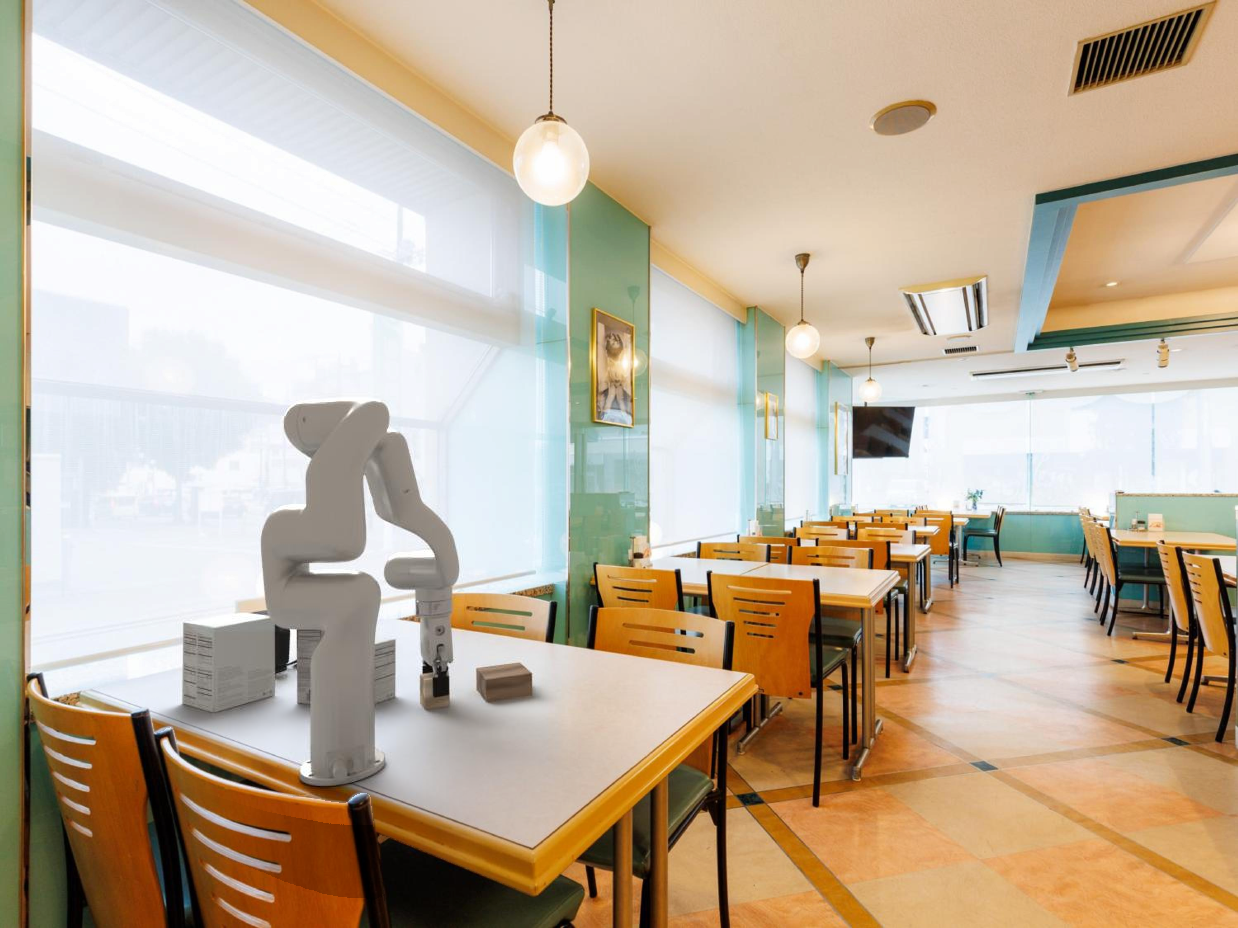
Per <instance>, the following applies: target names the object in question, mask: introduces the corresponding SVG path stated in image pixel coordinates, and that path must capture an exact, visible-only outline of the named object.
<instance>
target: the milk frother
mask: <svg viewBox="0 0 1238 928" xmlns="http://www.w3.org/2000/svg"><path fill="white" fill-rule="evenodd" d="M250 613H251V614H259V615H266V616H269V615H268V612H267V609H265V610H259V611H251V612H250ZM290 646H291V629H285V628H281V627H279V626H277V625H275V673H278V672H282V671H284V670H286V669H287V668H288V666H292V665H295V664H297V659H295V660H293V661H290V650H291V647H290Z"/></svg>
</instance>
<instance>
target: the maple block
mask: <svg viewBox="0 0 1238 928" xmlns="http://www.w3.org/2000/svg"><path fill="white" fill-rule="evenodd" d="M433 677H434V672H433V673H427V674H422V673H421V674H419V704H420V705H421V706H423V707H424V708H423V707H422V708H423V709H424V710H425V709H428V710H432V708H434V709H439V708H442V707H443V708H444V707H450V705H451V701H450V699H451V698H450V695H451V690H450V680H449V695H447V696H442V697H436V698H434V697H433ZM438 707H439V708H438Z"/></svg>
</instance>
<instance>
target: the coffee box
mask: <svg viewBox="0 0 1238 928" xmlns="http://www.w3.org/2000/svg"><path fill="white" fill-rule="evenodd" d="M324 633H325V631H323V630H298V629H296V660H297V663H296V703H297V704H301V703H302V704H305V705H310V664H311V658H312V655H313V653H314V651H315V649H316V647H317V646H318V644H319V643H320V641H321V639H322V638H323V636H324Z"/></svg>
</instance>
